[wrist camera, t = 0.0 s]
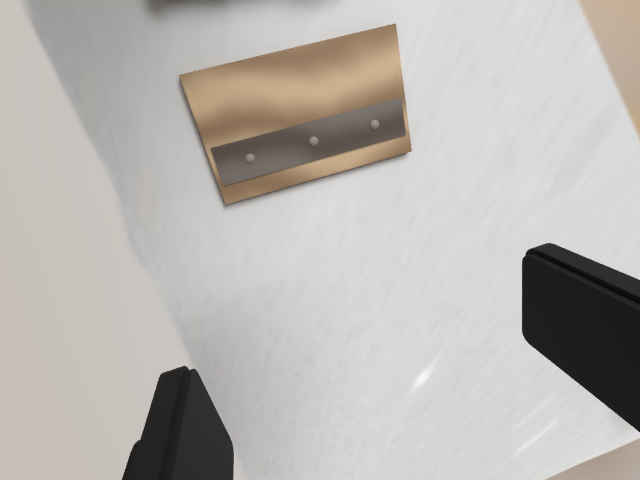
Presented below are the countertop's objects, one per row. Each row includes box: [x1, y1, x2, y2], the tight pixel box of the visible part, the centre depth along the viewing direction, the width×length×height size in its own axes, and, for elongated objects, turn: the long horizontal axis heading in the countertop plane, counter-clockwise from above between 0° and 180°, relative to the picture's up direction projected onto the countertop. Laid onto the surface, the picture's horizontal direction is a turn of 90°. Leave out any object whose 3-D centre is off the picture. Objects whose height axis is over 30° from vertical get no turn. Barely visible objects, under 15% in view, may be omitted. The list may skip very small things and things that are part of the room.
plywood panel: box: [179, 24, 412, 205], centre depth 36 cm, size 13×22×1 cm, turn 103°
